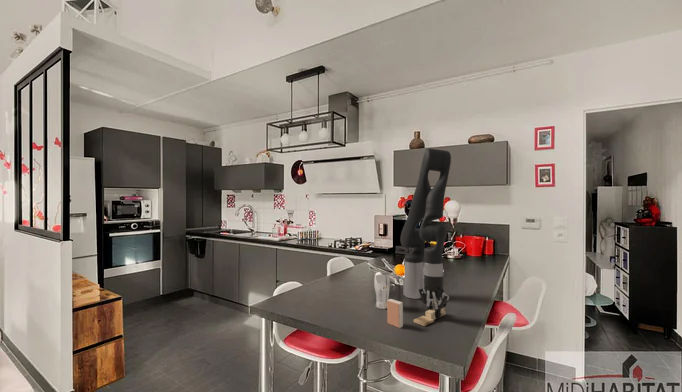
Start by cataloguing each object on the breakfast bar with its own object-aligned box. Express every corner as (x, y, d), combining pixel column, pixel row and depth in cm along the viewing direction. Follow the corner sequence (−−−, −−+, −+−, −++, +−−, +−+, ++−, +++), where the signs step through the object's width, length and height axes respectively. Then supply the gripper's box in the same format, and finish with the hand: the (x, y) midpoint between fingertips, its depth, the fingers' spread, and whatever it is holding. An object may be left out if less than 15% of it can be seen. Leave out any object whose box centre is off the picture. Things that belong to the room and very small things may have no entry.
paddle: (437, 312, 130) (437, 304, 130) (448, 315, 126) (448, 308, 126) (413, 322, 120) (413, 314, 120) (424, 326, 116) (424, 318, 116)
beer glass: (372, 308, 136) (372, 274, 137) (376, 303, 143) (376, 271, 143) (388, 310, 134) (388, 275, 134) (391, 305, 140) (391, 272, 141)
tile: (387, 323, 120) (386, 300, 120) (391, 321, 121) (390, 298, 121) (399, 328, 115) (398, 303, 115) (403, 326, 117) (402, 302, 117)
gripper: (413, 272, 128) (414, 314, 128) (443, 278, 117) (444, 324, 117) (424, 269, 132) (425, 309, 132) (454, 275, 122) (455, 319, 121)
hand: (434, 316), depth 124 cm, fingers closed on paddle, 2 cm apart
